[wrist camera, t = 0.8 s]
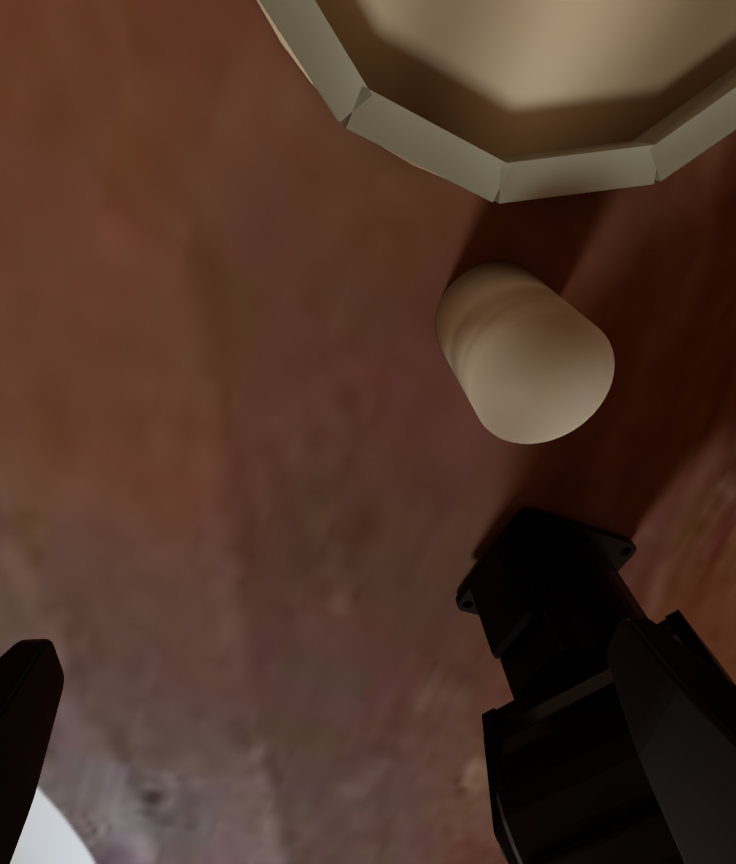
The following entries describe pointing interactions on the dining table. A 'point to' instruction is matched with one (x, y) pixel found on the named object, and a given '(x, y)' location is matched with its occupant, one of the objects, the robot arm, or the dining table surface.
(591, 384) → the maple bead
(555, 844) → the robot arm
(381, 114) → the ring dish
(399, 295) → the dining table surface
